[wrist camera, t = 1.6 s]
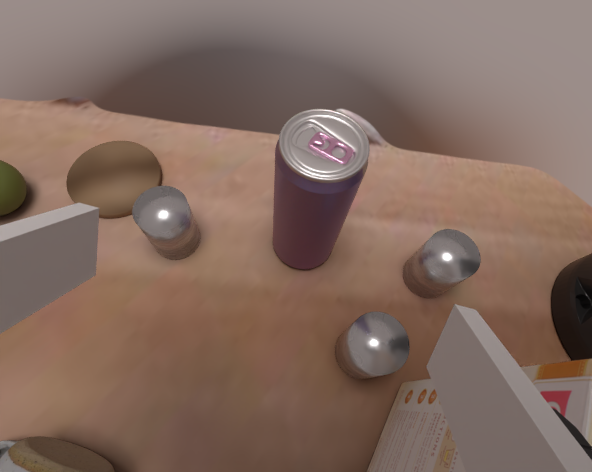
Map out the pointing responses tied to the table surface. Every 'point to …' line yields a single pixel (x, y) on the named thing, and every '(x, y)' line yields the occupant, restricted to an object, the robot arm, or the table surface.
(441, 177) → the table surface
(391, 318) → the cylinder
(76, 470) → the ceramic mug
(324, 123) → the beverage can
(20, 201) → the pear
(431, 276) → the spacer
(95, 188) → the coaster
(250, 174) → the table surface
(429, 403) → the coffeecake box
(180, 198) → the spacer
